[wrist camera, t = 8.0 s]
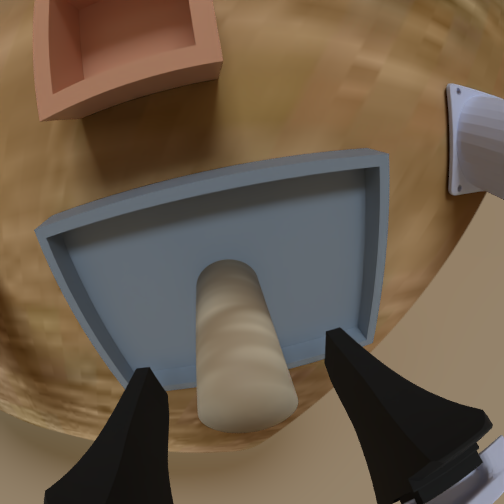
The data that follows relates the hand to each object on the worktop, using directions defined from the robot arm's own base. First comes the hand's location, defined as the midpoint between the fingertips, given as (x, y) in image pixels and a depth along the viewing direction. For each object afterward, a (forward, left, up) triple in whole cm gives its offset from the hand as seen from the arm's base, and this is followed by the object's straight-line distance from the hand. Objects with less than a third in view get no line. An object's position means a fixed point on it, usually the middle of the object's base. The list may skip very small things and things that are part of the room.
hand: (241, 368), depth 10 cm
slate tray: (0, 0, -6) cm, 6 cm away
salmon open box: (+2, -14, -6) cm, 16 cm away
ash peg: (0, 0, -6) cm, 6 cm away
